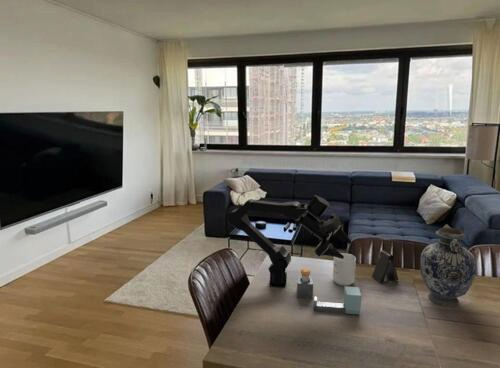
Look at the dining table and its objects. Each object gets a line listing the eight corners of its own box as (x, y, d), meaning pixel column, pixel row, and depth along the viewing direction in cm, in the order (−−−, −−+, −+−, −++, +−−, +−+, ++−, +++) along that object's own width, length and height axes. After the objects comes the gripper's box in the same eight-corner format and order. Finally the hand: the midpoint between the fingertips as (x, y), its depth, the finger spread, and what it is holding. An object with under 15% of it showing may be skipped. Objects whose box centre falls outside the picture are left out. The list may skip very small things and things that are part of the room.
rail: (313, 310, 128) (314, 300, 128) (313, 306, 131) (313, 296, 131) (359, 314, 127) (359, 303, 126) (357, 309, 130) (358, 299, 129)
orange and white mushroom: (300, 289, 138) (300, 272, 137) (300, 284, 141) (300, 268, 140) (309, 289, 137) (310, 273, 136) (309, 285, 141) (310, 268, 140)
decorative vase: (478, 318, 124) (488, 242, 119) (420, 309, 130) (427, 236, 125) (464, 290, 144) (472, 224, 139) (414, 284, 150) (419, 220, 145)
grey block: (345, 313, 126) (346, 294, 124) (343, 305, 131) (344, 286, 130) (360, 315, 125) (361, 295, 124) (357, 305, 131) (358, 287, 129)
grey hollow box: (296, 297, 137) (297, 283, 136) (296, 290, 143) (297, 276, 142) (312, 298, 137) (313, 284, 136) (311, 291, 143) (312, 277, 141)
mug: (358, 284, 148) (360, 259, 146) (340, 288, 145) (341, 262, 143) (342, 272, 159) (343, 249, 157) (324, 275, 156) (326, 251, 154)
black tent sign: (379, 283, 150) (382, 256, 148) (371, 276, 156) (373, 251, 153) (398, 280, 152) (400, 254, 150) (389, 274, 158) (392, 249, 155)
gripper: (314, 227, 127) (351, 254, 124) (332, 200, 140) (366, 224, 137) (300, 243, 134) (334, 270, 132) (319, 216, 147) (350, 240, 145)
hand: (347, 250), depth 136 cm, fingers open, 9 cm apart
